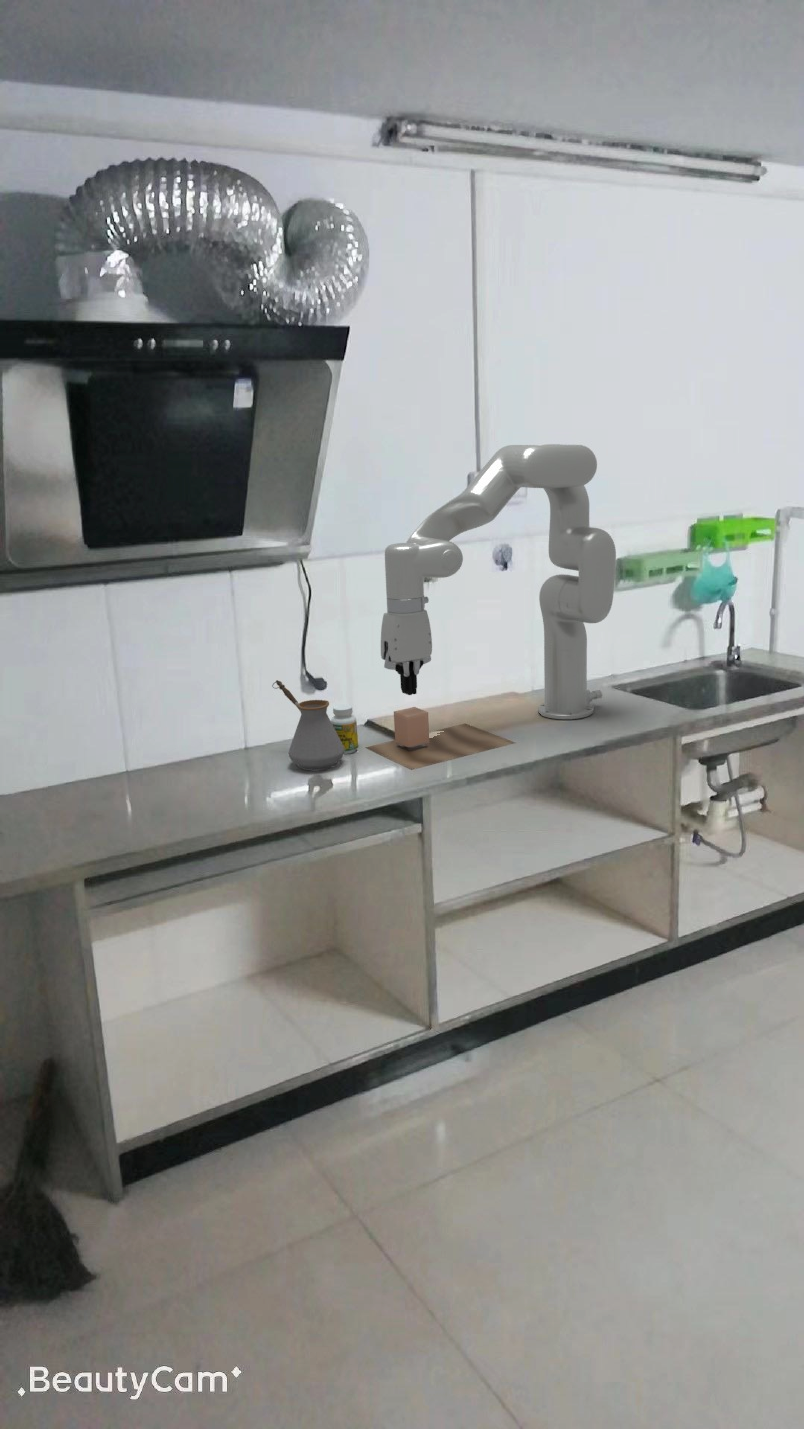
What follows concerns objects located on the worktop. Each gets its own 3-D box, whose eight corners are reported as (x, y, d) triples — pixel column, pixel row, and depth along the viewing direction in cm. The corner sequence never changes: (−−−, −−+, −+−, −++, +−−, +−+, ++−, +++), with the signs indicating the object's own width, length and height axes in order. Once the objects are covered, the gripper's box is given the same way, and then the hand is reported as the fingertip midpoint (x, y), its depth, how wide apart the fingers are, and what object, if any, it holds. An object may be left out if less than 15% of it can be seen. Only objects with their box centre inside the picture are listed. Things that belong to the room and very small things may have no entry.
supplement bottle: (360, 746, 225) (357, 703, 222) (356, 754, 220) (353, 710, 217) (335, 746, 225) (332, 703, 223) (331, 755, 220) (328, 711, 217)
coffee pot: (356, 765, 213) (351, 693, 209) (306, 778, 207) (301, 704, 203) (304, 741, 230) (299, 674, 226) (257, 752, 224) (251, 684, 220)
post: (415, 741, 223) (413, 710, 221) (426, 746, 220) (425, 714, 218) (397, 746, 221) (396, 714, 219) (409, 751, 217) (407, 718, 215)
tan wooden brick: (415, 736, 224) (414, 706, 222) (429, 742, 219) (428, 712, 217) (395, 741, 221) (393, 711, 219) (408, 747, 217) (406, 716, 215)
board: (465, 726, 235) (465, 723, 234) (515, 746, 220) (515, 742, 220) (365, 751, 221) (364, 747, 221) (411, 773, 207) (411, 769, 207)
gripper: (426, 598, 219) (429, 683, 224) (364, 607, 211) (368, 696, 216) (446, 603, 213) (449, 690, 218) (383, 613, 205) (387, 703, 210)
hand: (409, 693), depth 217 cm, fingers closed
